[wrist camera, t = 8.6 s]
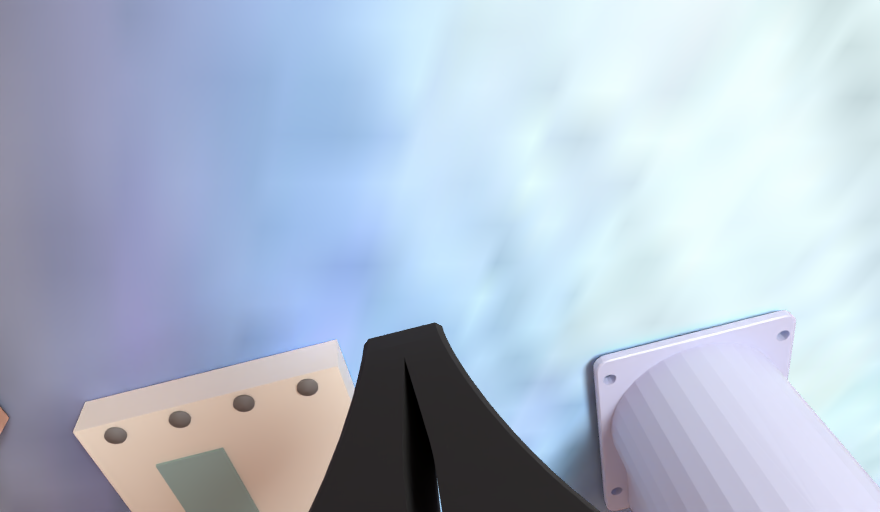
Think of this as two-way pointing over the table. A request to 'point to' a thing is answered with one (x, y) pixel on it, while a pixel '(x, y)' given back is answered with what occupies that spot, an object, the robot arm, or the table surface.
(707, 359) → the robot arm
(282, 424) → the stove control panel
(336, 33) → the table surface
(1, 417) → the stub
